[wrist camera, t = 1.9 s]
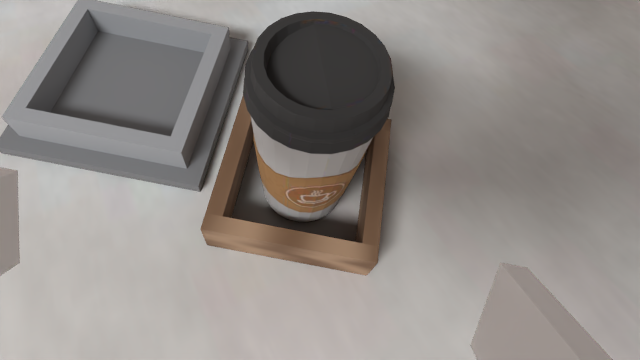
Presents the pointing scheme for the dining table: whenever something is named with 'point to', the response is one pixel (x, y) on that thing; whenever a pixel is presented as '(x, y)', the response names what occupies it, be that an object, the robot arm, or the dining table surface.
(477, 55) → the dining table surface
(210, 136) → the dock pad
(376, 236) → the walnut holder
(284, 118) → the coffee cup
